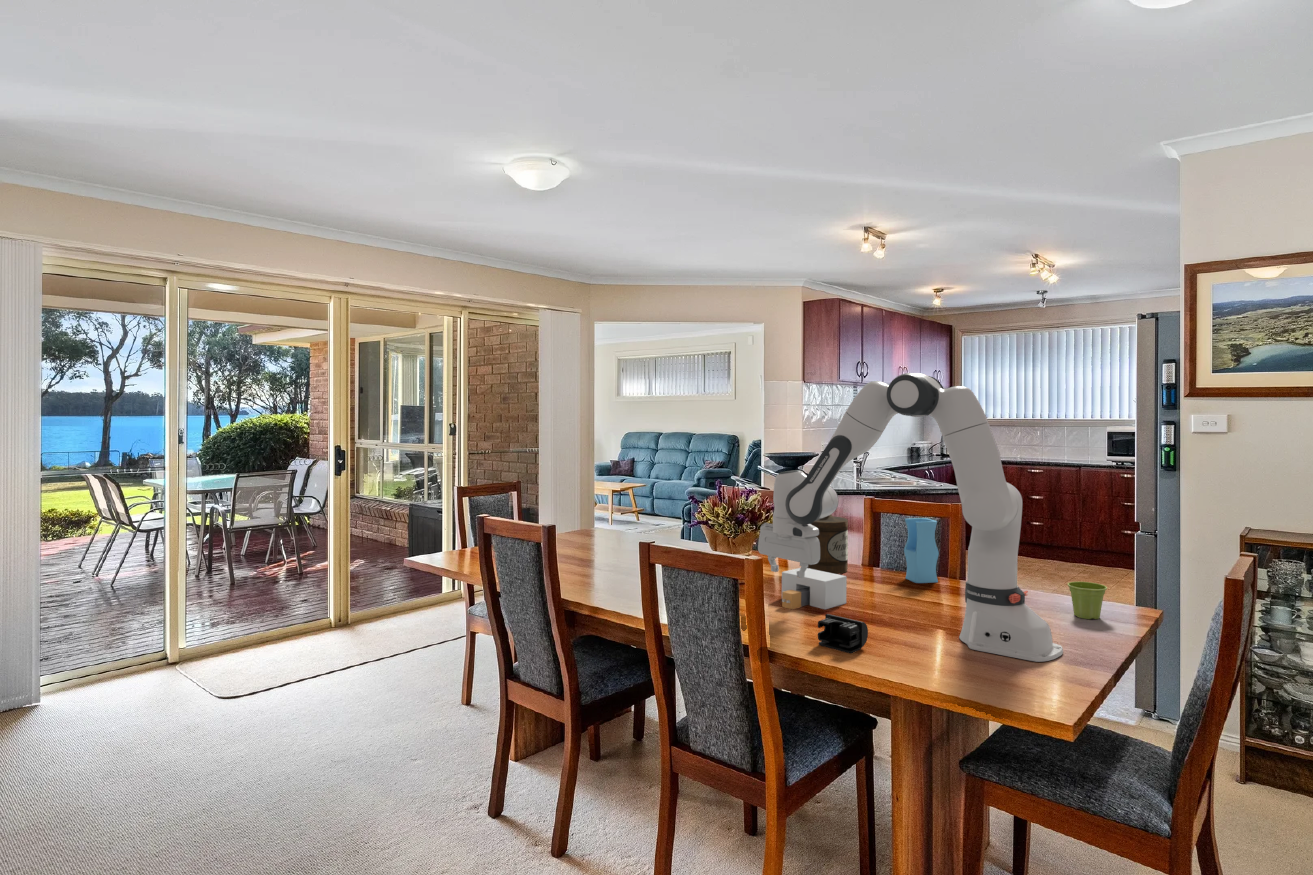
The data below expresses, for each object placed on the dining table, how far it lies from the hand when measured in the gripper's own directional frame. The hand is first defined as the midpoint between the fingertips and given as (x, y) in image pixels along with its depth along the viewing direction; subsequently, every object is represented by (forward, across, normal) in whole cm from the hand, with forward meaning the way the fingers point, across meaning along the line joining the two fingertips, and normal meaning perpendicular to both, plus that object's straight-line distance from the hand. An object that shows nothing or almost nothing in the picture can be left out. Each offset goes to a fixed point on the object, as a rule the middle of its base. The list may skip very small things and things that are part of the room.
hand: (787, 574), depth 210 cm
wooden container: (+10, -22, +49) cm, 54 cm away
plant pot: (+9, +60, +55) cm, 81 cm away
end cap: (+10, +30, -16) cm, 36 cm away
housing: (+10, 0, +12) cm, 15 cm away
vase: (+9, +8, +60) cm, 61 cm away
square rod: (+10, 0, +12) cm, 15 cm away
